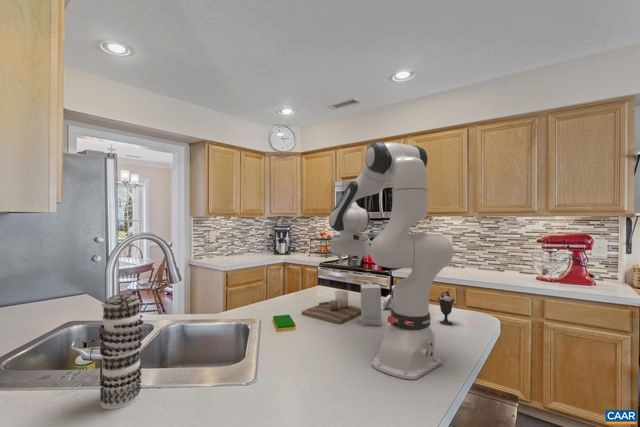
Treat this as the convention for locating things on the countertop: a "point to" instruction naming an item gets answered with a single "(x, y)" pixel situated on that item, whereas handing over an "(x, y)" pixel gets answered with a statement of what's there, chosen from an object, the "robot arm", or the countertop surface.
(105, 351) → the decorative candle
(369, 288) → the skincare box
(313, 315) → the wooden cutting board
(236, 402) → the countertop surface
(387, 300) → the spread jar
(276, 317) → the dish sponge
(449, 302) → the sundae
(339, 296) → the lever
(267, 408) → the countertop surface
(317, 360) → the countertop surface
